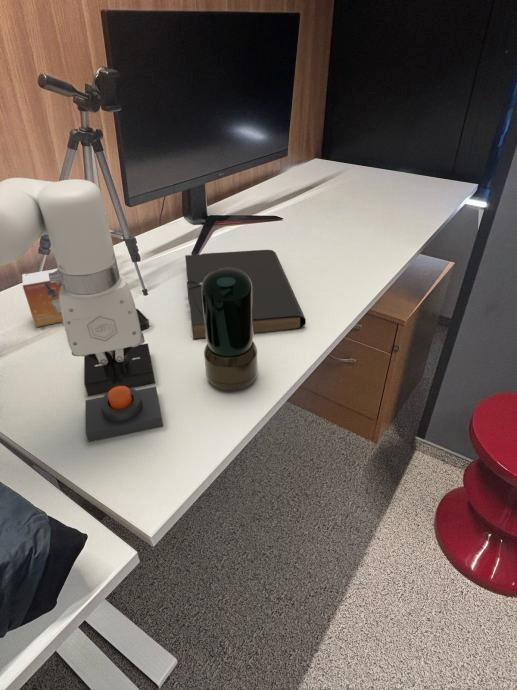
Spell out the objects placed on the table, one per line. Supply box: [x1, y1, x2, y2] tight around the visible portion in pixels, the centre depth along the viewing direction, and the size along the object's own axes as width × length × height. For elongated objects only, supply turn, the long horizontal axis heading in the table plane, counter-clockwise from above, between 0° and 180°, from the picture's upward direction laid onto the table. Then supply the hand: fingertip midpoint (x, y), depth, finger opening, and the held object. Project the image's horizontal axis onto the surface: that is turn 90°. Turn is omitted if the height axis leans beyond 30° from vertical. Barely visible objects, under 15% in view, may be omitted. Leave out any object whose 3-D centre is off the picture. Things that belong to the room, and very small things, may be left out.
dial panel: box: [83, 343, 156, 397], centre depth 90 cm, size 12×9×3 cm
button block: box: [84, 386, 164, 443], centre depth 80 cm, size 12×8×4 cm, turn 106°
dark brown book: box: [184, 249, 307, 340], centre depth 113 cm, size 33×4×24 cm
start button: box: [108, 386, 132, 409], centre depth 79 cm, size 4×4×2 cm
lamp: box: [201, 267, 258, 391], centre depth 84 cm, size 10×10×22 cm
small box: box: [21, 268, 63, 328], centre depth 104 cm, size 8×6×10 cm
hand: (117, 378), depth 76 cm, fingers closed
